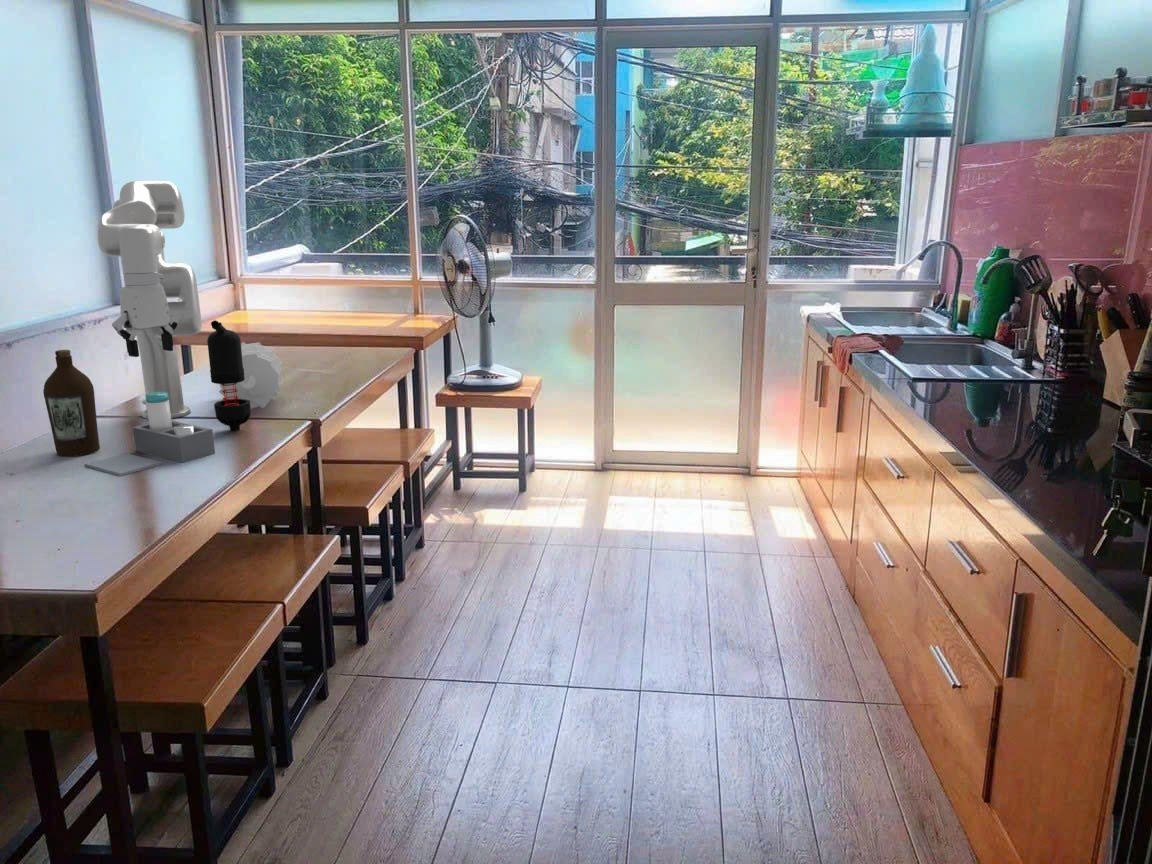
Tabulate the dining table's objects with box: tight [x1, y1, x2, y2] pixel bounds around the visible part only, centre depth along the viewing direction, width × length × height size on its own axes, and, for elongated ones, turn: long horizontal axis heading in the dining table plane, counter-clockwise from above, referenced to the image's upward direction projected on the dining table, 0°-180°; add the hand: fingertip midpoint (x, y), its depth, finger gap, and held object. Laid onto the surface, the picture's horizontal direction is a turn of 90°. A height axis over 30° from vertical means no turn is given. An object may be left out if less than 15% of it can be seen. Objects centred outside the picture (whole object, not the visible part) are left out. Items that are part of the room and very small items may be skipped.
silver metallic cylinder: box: [174, 424, 195, 436], centre depth 216 cm, size 4×4×5 cm
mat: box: [84, 452, 162, 477], centre depth 209 cm, size 14×10×1 cm
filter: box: [206, 320, 252, 432], centre depth 236 cm, size 14×9×30 cm
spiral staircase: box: [218, 341, 283, 410], centre depth 265 cm, size 18×18×25 cm
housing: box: [132, 420, 216, 463], centre depth 218 cm, size 18×9×6 cm, turn 59°
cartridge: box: [145, 392, 173, 431], centre depth 219 cm, size 5×5×14 cm
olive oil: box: [42, 349, 101, 458], centre depth 216 cm, size 11×11×25 cm
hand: (151, 353), depth 215 cm, fingers open, 8 cm apart
